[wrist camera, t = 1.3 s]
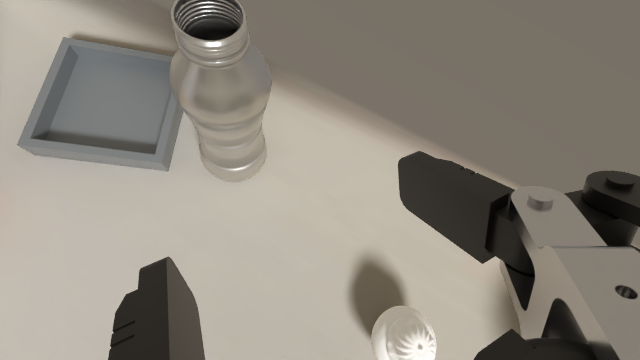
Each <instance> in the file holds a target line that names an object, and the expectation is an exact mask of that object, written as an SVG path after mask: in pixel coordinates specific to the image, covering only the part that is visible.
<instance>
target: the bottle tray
mask: <svg viewBox="0 0 640 360" xmlns="http://www.w3.org/2000/svg"><path fill="white" fill-rule="evenodd" d="M172 58H173V56H168V55H162V54H156V53H151V52H145V51H139V50H134V49H128V48H122V47H117V46H111V45H105V44H100V43H94V42H88V41H83V40H77V39H71V38H66V37H63V39H62V42H61V44H60V46H59V49H58V51H57V53H56V55H55V58H54V60H53V62H52V65H51V67H50V69H49V72H48V74H47V76H46V79H45V81H44V83H43V86H42V88H41V90H40V93H39V95H38V97H37V100H36V102H35V104H34V107H33V109H32V111H31V114H30V116H29V118H28V121H27V123H26V125H25V128H24V130H23V132H22V135H21V137H20V139H19V141H18V144H17V145H18V146H20V147H21V148H23V149H25V150H27V151H29V152H30V153H32V154H34V155H39V156H47V157H55V158H64V159H72V160H80V161H88V162H97V163H105V164H113V165H121V166H130V167H138V168H146V169H154V170H163V171H168V170H169V166H170V162H171V158H172V154H173V150H174V146H175V142H176V138H177V134H178V130H179V126H180V122H181V117H182V113H183V109H182V108H181V107H180V105H179V104H178V102H177V100H176V99H175V97H174V95H173V93H172V91H171V87H170V83H169V78H170V65H171V61H172Z"/></svg>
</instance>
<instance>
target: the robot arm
mask: <svg viewBox="0 0 640 360" xmlns="http://www.w3.org/2000/svg"><path fill="white" fill-rule="evenodd" d="M398 173H399V190H400V198H401V201H402V203H403V205H404V206H405V207H406V208H407V209H408V210H409V211H410V212H412V213H413V214H414V215H416V216H417V217H419V218H420V219H421V220H423V221H424V222H425V223H427V224H428V225H430V226H431V227H432V228H434V229H435V230H436V231H438V232H439V233H441V234H442V235H443V236H445V237H446V238H447V239H449V240H450V241H452V242H453V243H454V244H456V245H457V246H459V247H460V248H461V249H463V250H464V251H465V252H467V253H468V254H470V255H471V256H472V257H474V258H475V259H476V260H478V261H479V262H481V263H482V264H483V263H485V262H487V261H488V260H490V259H491V258H493V257H495V256H496V257H498V258H499V259H500V270H501V273H502V275H503V278H504V281H505V283H506V286H507V289H508V292H509V294H510V297H511V300H512V302H513V305H514V308H515V310H516V313H517V316H518V319H519V323H520V331H521V336H520V335H519V334H517V333H516V332H515V331H514V330H513V329H511V330H509V331H508V332H506V333H505V334H504V335H502V336H501V337H499V338H498V339H497V340H495V341H494V342H492V343H491V344H490V345H488V346H487V347H485V348H484V349H483V350H481V351H480V352H478V354H477V355H476V357H475V358H474V360H640V249H638V248H636V247H634V246H632V245H630V244H631V242H632V240H633V238H634V236H635V233H636V231H637V229H638V227H640V177H639V176H636V175H633V174H629V173H625V172H619V171H599V172H594V173H592V174H590V175H588V177H587V179H586V182H585V185H584V188H583V190H580V191H575V192H570V193H565V194H563V193H561V192H558V191H556V190H553V189H550V188H546V187H539V186H529V187H522V188H519V189H517V190H514V189H512V188H510V187H507V186H505V185H503V184H501V183H498V182H496V181H494V180H492V179H490V178H487V177H485V176H483V175H481V174H478V173H476V174H475V172H474V171H472V170H470V169H467V168H466V169H465V168H464V167H463V166H461V165H459V164H456V163H454V162H452V161H447V160H442V159H437V158H434V157H432V156H430V155H428V154H426V153H424V152H421V151H418V152H415V153H413V154H411V155H408V156H406V157H403V158H401V159H400V160H399V162H398ZM113 333H114V334H112V338H111V345H110V346H111V349H110V351H109V358H108V360H205V355H204V348H203V341H202V334H201V327H200V319H199V312H198V307H197V304H196V301H195V298H194V296H193V294H192V292H191V290H190V288H189V287H188V285H187V283H186V282H185V280H184V278H183V277H182V275H181V274H180V272H179V270H178V269H177V267H176V265H175V264H174V262H173V260H172V259H171V258H170V257H166V258H164V259H162V260H159V261H157V262H154V263H152V264H150V265H147V266H145V267H143V268H141V269H140V271H139V283H138V290H135V291H133V292H131V293H128V294H126V296H125V297H124V299H123V301H122V302H121V304H120V306H119V308H118V309H117V311H116V313H115V319H114V325H113Z"/></svg>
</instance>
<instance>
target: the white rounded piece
mask: <svg viewBox="0 0 640 360" xmlns="http://www.w3.org/2000/svg"><path fill="white" fill-rule="evenodd" d="M371 341H372V343H371V344H372V348H373V352H374V355H375V358H376V360H434V358H435V354H436V338H435V334H434V331H433V329H432V327H431V325H430V323H429V322H428V320H427V319H426V318H425V317H424V316H423V315H422V314H421V313H420V312H419V311H417V310H415V309H413V308H411V307H408V306H394V307H392V308H389V309H388V310H386V311H385V312H384V313H382V314H381V315H380V317H379V318H377V321H376V323H374V327H373V329H372V336H371Z"/></svg>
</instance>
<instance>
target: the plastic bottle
mask: <svg viewBox="0 0 640 360" xmlns="http://www.w3.org/2000/svg"><path fill="white" fill-rule="evenodd" d="M170 16H171V22H172V25H173V28H174V30H175V38H176V42H177V44H178V47H179V48H178V50H177V51H176V53H175V55H174V56H173V58H172V61H171V65H170V78H169V83H170V87H171V91H172V93H173V95H174V97H175V99H176V100H177V102H178V104H179V105H180V107H181V108H182V109H183V110H184V112H185V113H186V114H187V116H188V117H189V118H190V120H191V121H192V122H193V124H194V126H195V128H196V130H197V131H198V133H199V138H200V156H201V160H202V162H203V164H204V166H205V167H206V168H207V170H208V171H209V172H211V173H212V174H213V175H214V176H216V177H217V178H219V179H221V180H224V181H228V182H240V181H244V180H247V179H249V178H251V177H252V176H254V175H255V174H256V173H257V172H258V171H259V170H260V169H261V167H262V165H263V164H264V162H265V159H266V155H267V146H266V142H265V138H264V135H263V133H262V119H263V114H264V111H265V108H266V105H267V102H268V99H269V96H270V91H271V85H272V79H271V73H270V70H269V67H268V65H267V62H266V60H265V58H264V56H263V55H262V53H261V52H260V51H259V50H258V49H257V48H256V47H255V46H254V45H253V44H252V43H251V42H250V34H249V30H248V28H247V17H246V13H245V10H244V8H243V6H242V4H241V3H240V2H239V1H238V0H175V1H174V3H173V4H172V7H171V11H170Z"/></svg>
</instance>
